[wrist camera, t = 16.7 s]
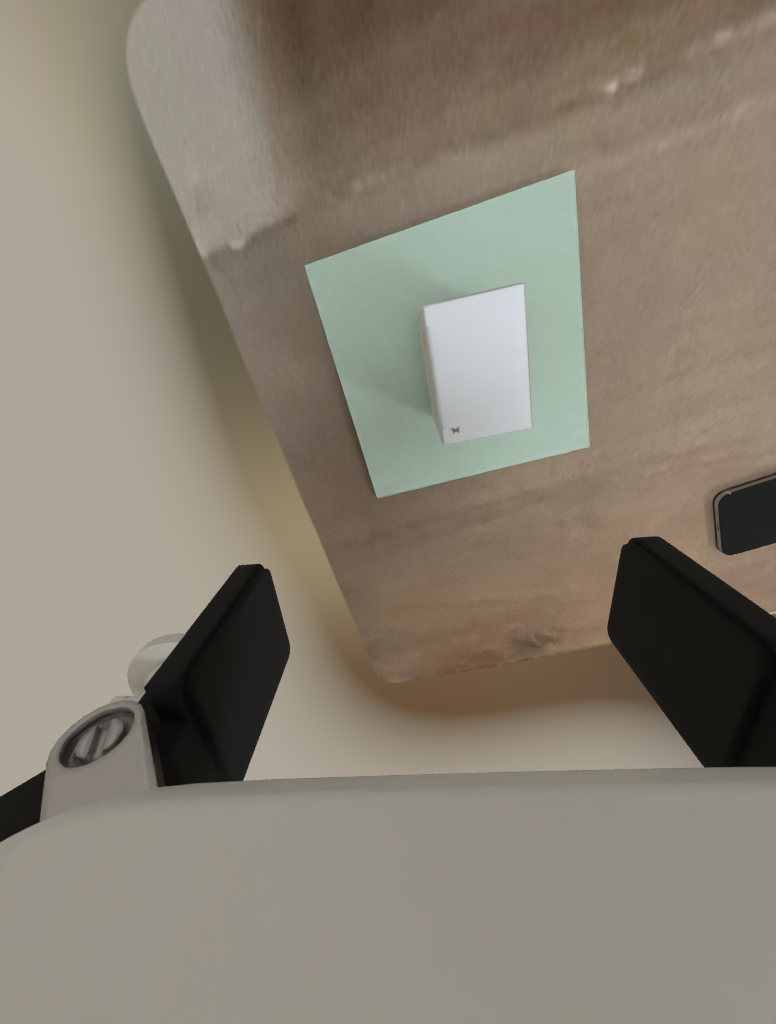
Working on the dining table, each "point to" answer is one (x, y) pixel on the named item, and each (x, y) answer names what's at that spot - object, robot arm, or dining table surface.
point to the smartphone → (746, 516)
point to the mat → (445, 275)
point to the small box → (477, 363)
